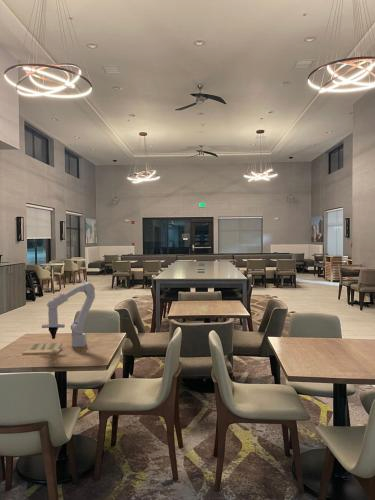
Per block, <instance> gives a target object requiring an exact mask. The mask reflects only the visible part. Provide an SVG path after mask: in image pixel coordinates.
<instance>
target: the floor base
mask: <svg viewBox="0 0 375 500" xmlns="http://www.w3.org/2000/svg"><path fill="white" fill-rule="evenodd" d="M44 349H45V347H44ZM63 349H64V347H61V349H54V350H27V349H26V350H25V351H23V352H22V356H25V355H26V356H27V355H28V356H30V355H32V356H33V355H58V354H60V352H61V350H63Z"/></svg>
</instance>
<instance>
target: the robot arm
mask: <svg viewBox="0 0 375 500" xmlns="http://www.w3.org/2000/svg"><path fill="white" fill-rule="evenodd" d="M95 289H96V288H95V287H94V284H92V283H90V282H87V281H85V282H84V281H83V282H82V283H80V284H78V285H77V286H76V287H73V288H72V289H71V290H69V291H68V292H66V293H64V292H63V293H60V294H59V295H58V296H56V297H53V298H52V299H50V300H48V302H47V304H46V306H47V308H48V311H47V313H48V315H47V316H48V317H47V318H48V323H47V324H42V325H41V328H42V329H48V331H49V333H50V337H51V339H52V340H55V339H56V335H57V332H58V330H59V328H63V329H64V328H65V327H66V324H65V323H61V324H60V323H59V322H58V320H59V319H58V318H59V317H58V307H59V306H61V305H63V304H64V303H65V302H67V301H69V298H70V297H73V296H75V295H76V294H78V293H84V295H85V296H86V298H85V300H84V302H83V305H82V307H81V309H80V312H79V314H78V315H77V318H76V319H75V320H74V321H73V323H71V325H70V330H71V347H72V348H83V347H84V348H85V347H86V346H87V334H86V333H84V326H85V321H86V319H87V317H88V314H89V312H90V309H91V308H92V305H93V302H94V301H95V298H96V293H95Z"/></svg>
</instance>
